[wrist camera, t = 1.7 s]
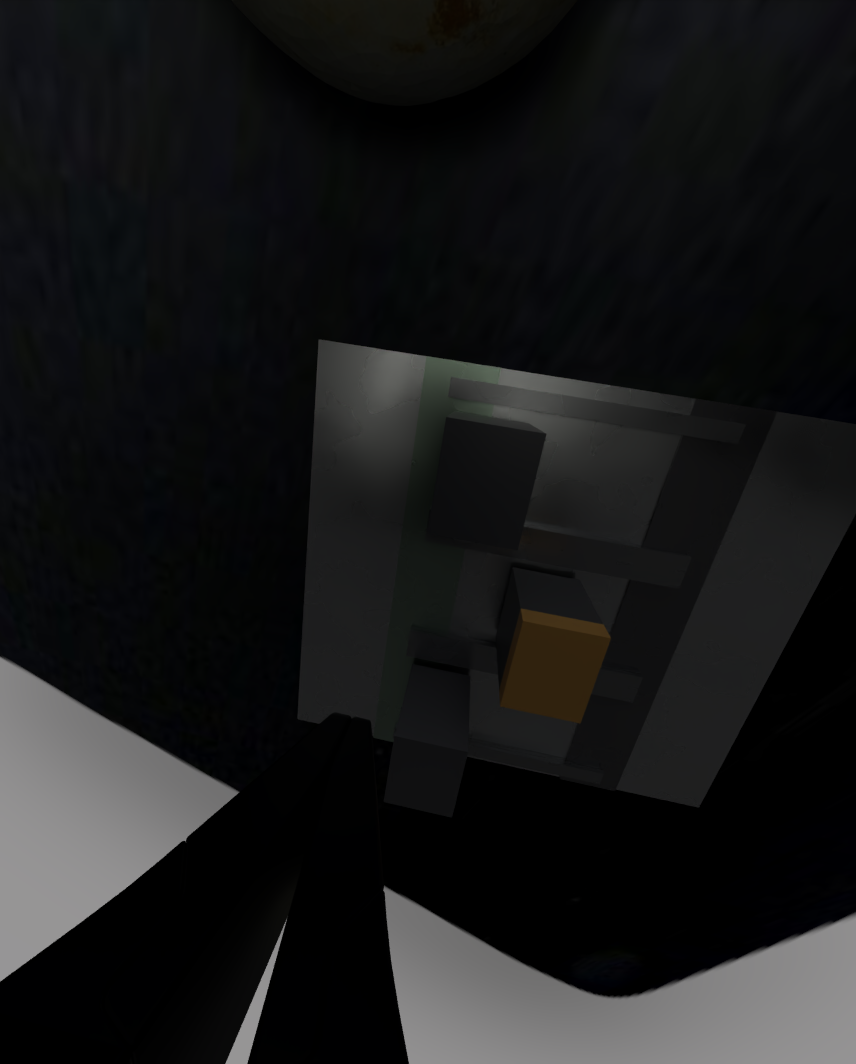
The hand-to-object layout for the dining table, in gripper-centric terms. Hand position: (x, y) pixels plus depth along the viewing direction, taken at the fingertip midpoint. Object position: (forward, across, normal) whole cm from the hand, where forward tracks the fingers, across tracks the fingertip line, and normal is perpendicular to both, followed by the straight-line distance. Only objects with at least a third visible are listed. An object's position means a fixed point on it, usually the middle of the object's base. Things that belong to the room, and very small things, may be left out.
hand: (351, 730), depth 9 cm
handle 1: (+7, -2, +5) cm, 9 cm away
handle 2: (+7, -2, -5) cm, 9 cm away
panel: (+8, -5, 0) cm, 10 cm away
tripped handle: (+7, -5, 0) cm, 9 cm away
